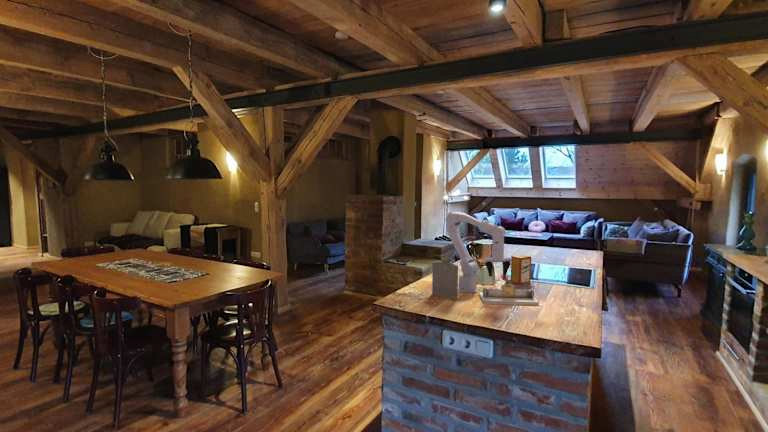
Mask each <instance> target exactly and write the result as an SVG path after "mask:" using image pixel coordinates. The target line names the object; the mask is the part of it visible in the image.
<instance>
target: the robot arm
mask: <svg viewBox="0 0 768 432" xmlns="http://www.w3.org/2000/svg"><path fill="white" fill-rule="evenodd" d="M489 221H490V220H485V219H484V220H482V221H481V220H479V219H477V218H476V217H473V216H471V215H469V214H467V213H466V212H461V211H450V212H448V213H447V214H446V215H445V223H446V233H447V234H448V236H449V238H450V241H451V242H452V245H453V246H454V249H455V251H456V253H457V256H458V257H459V259H460V260H459V261H460V262H459V264H460V268H461V272H462V274H461V273H458V290H459V293H479V290H478V288H477V281H478V280H477V278H478V276H477V272H478V271H479V264H478V262H477V261H475V260H474V258H473V257H472V256H471V255H470V253H469V251H468V249H467V247H466V245H465V244H464V241H463V239H462V237H461V235H460V233H459V231H458V229H459V225H461V223H463V222H464V223H468V224H471V225H473V226H475V227H477V228H478V230H479V231H482V232H483V233H485V234H488V235H490V236H491V238H492V241H491V242H492V248H491V249H492V251H491V252H492V253H491V257H488V258H483V263H484V264H485V266H486V268H487V272H488V276H489V277H493V266H494V264H493V263H502V275H504V276H507V273H508V271H509V268H510V267H511V262H512V258H511V257H504V255H505V253H504V251H505V250H504V249H505V235H506V233H507V232H506V228H504V227H503V226H502V225H499V226H498V224H494V223H492V222H489Z"/></svg>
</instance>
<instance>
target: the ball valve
mask: <svg viewBox="0 0 768 432" xmlns="http://www.w3.org/2000/svg"><path fill="white" fill-rule="evenodd" d="M482 292H483V296H484V297H519V298H531V299H534V298H535V291H534V288H529V289H525V288H524V289H523V288H522V289H519V288H516V285H513V283H510V284H508V283H506V282H504V284H501V286H500V288H487V287H486V286H483V287H482Z"/></svg>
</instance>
